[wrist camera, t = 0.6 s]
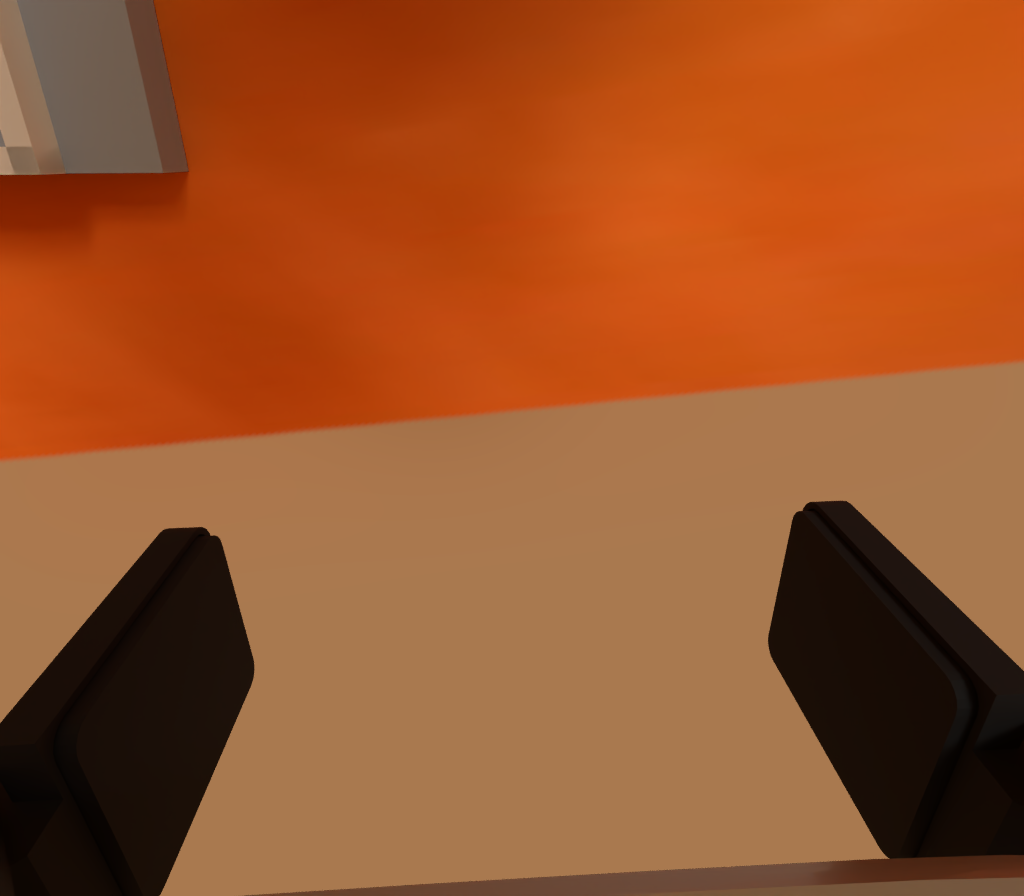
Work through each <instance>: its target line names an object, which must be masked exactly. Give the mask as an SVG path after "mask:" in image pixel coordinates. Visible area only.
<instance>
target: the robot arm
mask: <svg viewBox="0 0 1024 896" xmlns="http://www.w3.org/2000/svg"><path fill="white" fill-rule="evenodd" d="M768 644H769V650H770V654H771V657H772V659H773V661H774V663H775V664H776V666H777V668H778V670H779V672H780V673H781V675H782V677H783V678H784V680H785V682H786V684H787V686H788V687H789V689H790V691H791V693H792V694H793V696H794V698H795V700H796V702H797V703H798V705H799V707H800V709H801V710H802V712H803V713H804V716H805V717H806V719H807V721H808V723H809V724H810V726H811V728H812V730H813V731H814V733H815V735H816V737H817V739H818V740H819V742H820V744H821V746H822V747H823V749H824V751H825V753H826V754H827V756H828V758H829V760H830V761H831V763H832V765H833V767H834V769H835V770H836V772H837V774H838V776H839V777H840V779H841V781H842V783H843V784H844V786H845V788H846V790H847V791H848V793H849V795H850V797H851V798H852V800H853V802H854V804H855V806H856V807H857V809H858V811H859V812H860V814H861V816H862V818H863V820H864V821H865V823H866V825H867V827H868V828H869V830H870V832H871V834H872V836H873V837H874V839H875V840H876V843H877V844H878V846H879V848H880V849H881V850H882V852H883V853H884V854H885V855H886V856H887V857H888V858H890V859H871V860H851V861H832V862H831V861H830V862H811V863H792V864H776V865H775V864H773V865H754V866H735V867H716V868H698V869H697V868H696V869H678V870H659V871H642V872H624V873H608V874H590V875H573V876H555V877H538V878H520V879H504V880H487V881H469V882H452V883H435V884H419V885H403V886H387V887H373V888H356V889H340V890H324V891H309V892H293V893H279V894H278V893H277V894H262V895H246V896H1024V671H1023V670H1022V669H1021V668H1020V667H1019V666H1018V665H1017V664H1016V663H1015V662H1014V661H1013V660H1012V659H1011V658H1010V657H1009V656H1008V655H1007V654H1006V653H1004V652H1003V651H1002V650H1001V649H1000V648H999V647H998V646H997V645H996V644H995V643H994V642H993V641H992V640H991V639H990V638H989V637H988V636H987V635H986V634H985V633H984V632H983V631H982V630H981V629H980V628H979V627H977V625H976V624H974V623H973V622H972V621H971V620H970V619H969V618H968V617H967V616H966V615H965V614H964V613H963V612H962V611H961V610H960V609H959V608H958V607H957V606H956V605H955V604H954V603H953V602H952V601H951V600H950V599H949V598H948V597H947V596H945V595H944V594H943V593H942V592H941V591H940V590H939V589H938V588H937V587H936V586H935V585H934V584H933V583H932V582H931V581H930V580H929V579H928V578H927V577H926V576H925V575H924V574H923V573H921V571H920V570H918V569H917V567H915V566H914V565H913V564H912V563H911V562H910V561H909V560H908V559H907V558H906V557H905V556H904V555H903V554H902V553H901V552H900V551H899V550H898V549H897V548H896V547H895V546H894V545H893V544H892V543H891V542H890V541H889V540H888V539H886V538H885V537H884V536H883V535H882V534H881V533H880V532H879V531H878V530H877V529H876V528H875V527H874V526H873V525H872V524H871V523H870V522H869V521H868V520H867V519H866V518H865V517H864V516H863V515H862V514H861V513H860V512H858V510H856V509H855V508H854V507H853V506H852V505H851V504H850V503H848V502H847V501H825V502H809V503H808V504H806V505H805V507H804V508H803V511H799V512H796V514H795V515H794V517H793V520H792V525H791V530H790V535H789V539H788V544H787V549H786V554H785V559H784V563H783V568H782V573H781V578H780V583H779V587H778V592H777V597H776V602H775V607H774V611H773V617H772V621H771V626H770V631H769V637H768ZM253 677H254V660H253V656H252V652H251V649H250V645H249V641H248V638H247V634H246V630H245V627H244V623H243V619H242V616H241V612H240V609H239V605H238V601H237V598H236V594H235V590H234V586H233V583H232V580H231V575H230V572H229V568H228V564H227V561H226V557H225V554H224V550H223V546H222V543H221V540H220V539H219V538H218V537H217V536H210V533H209V532H208V531H207V529H205V528H203V527H194V528H169V529H165V530H163V531H162V532H161V533H160V534H159V535H158V536H157V537H156V538H155V540H154V541H153V542H152V543H151V544H150V546H149V547H148V548H147V549H146V550H145V552H144V553H143V554H142V555H141V556H140V557H139V559H138V560H137V561H136V562H135V563H134V565H133V566H132V567H131V568H130V569H129V570H128V572H127V573H126V574H125V575H124V576H123V578H122V579H121V580H120V581H119V582H118V584H117V585H116V586H115V587H114V588H113V590H112V591H111V592H110V593H109V594H108V596H107V597H106V598H105V599H104V600H103V601H102V603H101V604H100V605H99V606H98V607H97V609H96V610H95V611H94V612H93V613H92V615H91V616H90V617H89V618H88V619H87V621H86V622H85V623H84V624H83V625H82V626H81V628H80V629H79V630H78V631H77V632H76V634H75V635H74V636H73V637H72V639H71V640H70V641H69V642H68V643H67V644H66V646H65V647H64V648H63V649H62V650H61V651H60V653H59V654H58V655H57V656H56V657H55V659H54V660H53V661H52V662H51V663H50V665H49V666H48V667H47V668H46V670H45V671H44V672H43V673H42V674H41V675H40V676H39V678H38V679H37V680H36V681H35V683H34V684H33V685H32V686H31V687H30V688H29V690H28V691H27V692H26V693H25V694H24V696H23V697H22V698H21V699H20V700H19V701H18V703H17V704H16V705H15V706H14V707H13V709H12V710H11V711H10V712H9V713H8V715H7V716H6V717H5V718H4V719H3V721H2V722H1V723H0V896H159V895H160V894H161V892H162V890H163V888H164V886H165V883H166V881H167V879H168V877H169V874H170V872H171V870H172V867H173V865H174V863H175V861H176V858H177V856H178V854H179V851H180V849H181V847H182V844H183V842H184V840H185V837H186V835H187V833H188V830H189V828H190V826H191V824H192V821H193V819H194V817H195V814H196V812H197V810H198V807H199V805H200V802H201V800H202V798H203V796H204V793H205V791H206V789H207V786H208V784H209V782H210V779H211V777H212V775H213V772H214V770H215V768H216V766H217V763H218V761H219V759H220V756H221V754H222V752H223V749H224V747H225V745H226V742H227V740H228V738H229V735H230V733H231V731H232V728H233V726H234V724H235V722H236V719H237V717H238V715H239V712H240V710H241V708H242V705H243V703H244V701H245V698H246V696H247V694H248V691H249V689H250V687H251V684H252V681H253Z"/></svg>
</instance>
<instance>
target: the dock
mask: <svg viewBox="0 0 1024 896" xmlns="http://www.w3.org/2000/svg"><path fill="white" fill-rule="evenodd" d="M188 171H189V170H188V165H187V161H186V156H185V151H184V146H183V142H182V137H181V132H180V127H179V122H178V118H177V113H176V108H175V103H174V98H173V94H172V89H171V84H170V79H169V74H168V70H167V65H166V60H165V55H164V51H163V46H162V41H161V36H160V31H159V27H158V22H157V17H156V12H155V7H154V3H153V0H0V175H44V174H66V173H171V172H188Z"/></svg>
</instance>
